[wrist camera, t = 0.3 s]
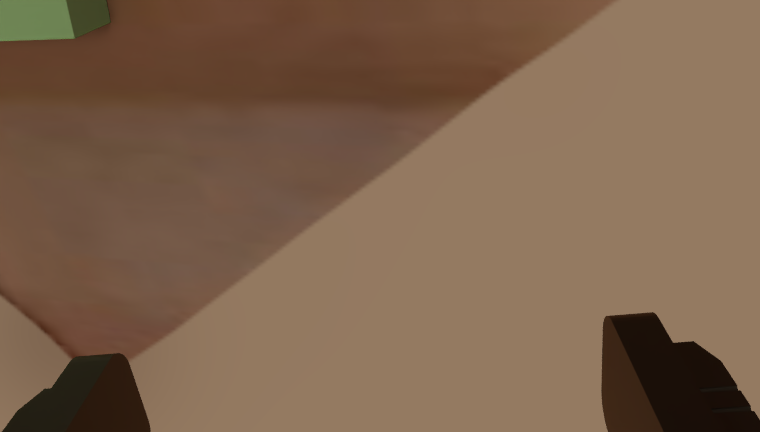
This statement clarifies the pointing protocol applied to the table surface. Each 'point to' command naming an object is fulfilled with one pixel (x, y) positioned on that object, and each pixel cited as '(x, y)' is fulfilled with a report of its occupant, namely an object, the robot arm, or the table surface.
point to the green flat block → (50, 18)
